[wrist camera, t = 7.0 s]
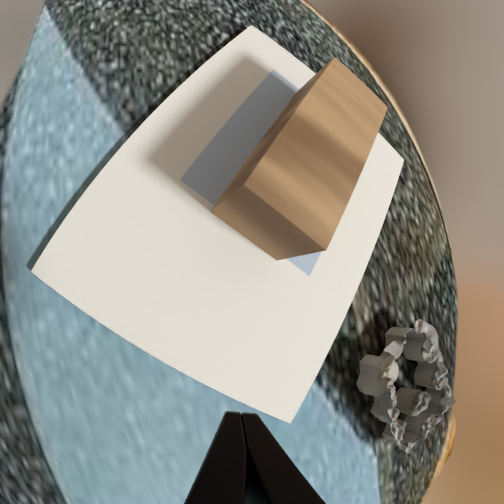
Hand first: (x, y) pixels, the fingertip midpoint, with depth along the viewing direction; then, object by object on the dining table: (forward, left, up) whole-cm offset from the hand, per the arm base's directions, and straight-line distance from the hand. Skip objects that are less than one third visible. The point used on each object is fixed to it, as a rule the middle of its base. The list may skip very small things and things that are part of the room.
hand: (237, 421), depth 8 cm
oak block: (+8, 0, -7) cm, 11 cm away
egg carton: (+6, -18, -11) cm, 22 cm away
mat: (+11, 0, -10) cm, 15 cm away
